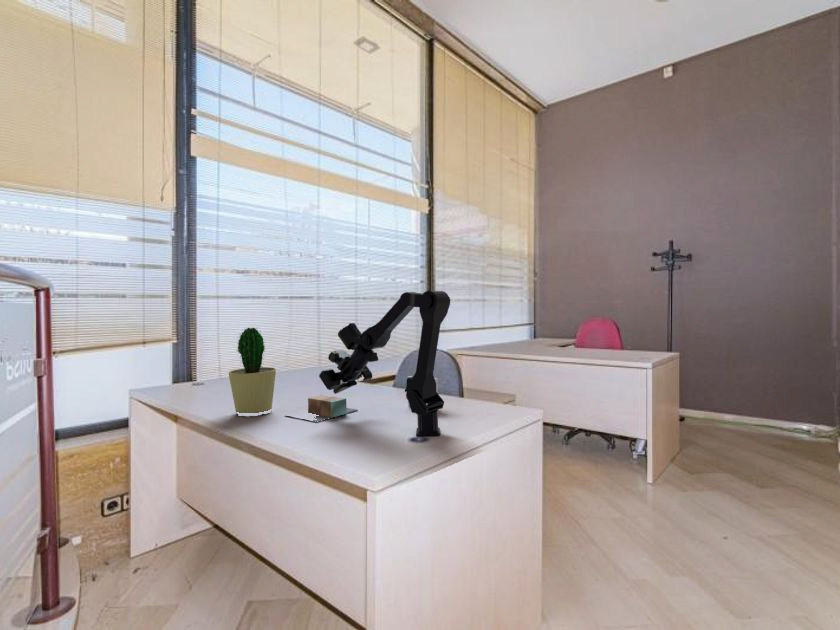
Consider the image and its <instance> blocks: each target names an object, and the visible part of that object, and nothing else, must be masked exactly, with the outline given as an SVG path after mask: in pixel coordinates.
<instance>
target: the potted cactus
mask: <svg viewBox="0 0 840 630" xmlns="http://www.w3.org/2000/svg"><path fill="white" fill-rule="evenodd" d="M237 341H238V342H237V346H236V347H237V348H236V352H237V353H238V354H240V356H239V358H240V360H239V361H240V362H239V363H241V364H242V366H243V368H238V369H233V370H230V371H228V372H227V373H228V378H229V383H230V388H231V393H232V399H233V404H234V410H235V413H236V412H239V413H259V412H264V411H268V410H270V409H273V399H274V392H275V382H276V374H277V373H276V372H277V368H276V367H269V366H268V367H267V366H264V367H263V366H262V364H264V362H263V361H264V358H263V356H264V353H266V349H267V348H265V347H266V345H265V341H264V336H263V335H262V333H261V331H259V330H258V329H257V328H255V327H253V326H252V327H248V328H247V327H245V328H243V331H242V330H241V334H240V335H238V339H237Z"/></svg>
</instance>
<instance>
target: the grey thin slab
mask: <svg viewBox="0 0 840 630" xmlns="http://www.w3.org/2000/svg"><path fill="white" fill-rule="evenodd" d="M354 411H356V412H358V411H359V409H357V408H356V409H355V408H349V407H347V413H349V414H352V413H355V412H354ZM351 412H352V413H351ZM314 418H315V417H314ZM328 418H331V419H333V418H332V417H327V416H322V415H319V416H316V418H315V419H317V420H313V421H316V422H317V421H321V420H324V419H328ZM328 420H329V419H328ZM321 422H322V421H321Z"/></svg>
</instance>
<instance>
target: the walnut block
mask: <svg viewBox="0 0 840 630" xmlns="http://www.w3.org/2000/svg"><path fill="white" fill-rule="evenodd" d="M307 407H308V408H307V409H308V413H312V414H316V415H322V416H327V417H332V418H331V419H334V418H333V417H335V418H338V417H341V416H340V415H342V416H345V415H348V414H347V408H348V407H347V398H345V397H338V396H331V395H325V394H324V395H323V394H321V395H316V396H315V395H314V396H312V397H308V398H307ZM344 414H345V415H344ZM337 416H338V417H337Z"/></svg>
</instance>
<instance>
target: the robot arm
mask: <svg viewBox="0 0 840 630" xmlns="http://www.w3.org/2000/svg"><path fill="white" fill-rule="evenodd" d="M450 306H451V297H450V296H449V294H448V293H447V292H446V291H443V290H426V291H424V292H423V293H420V292H415V291H405V292H403V293H401V295H400V297H399V298H398V300H397V301H396V302H395V303H394V304H393V305H392V307H391V308H390V309H389V310H387V312H386V313H385V314H384V316H383V317H382V318H381V319H380V320H379V321H378V322H376V323H375V324H373V325H371V326H369V327H368V328H366V329H365V330H364V331H362V332H361V331H360V330H359V328H358V327H357V325H356V323H354V322H352V323H351V322H350V323H348V325H346V326H345V327H342V328H341V329H340V330H339V331H338V333H337V336H338V338H339V340H340V341H341V342H342V344H343V345H344V346H345V348H346V349H347V350H350V351H351V350H352V352H351V353H348V352H347V351H346V350H344V349H337V350H333V351H330V353H329V354H328V357H327V359H328V361H330V362H331V363H335V364H336V366H337V367H336V368H337V369H338V371H337V372H336V371H335V370H334V369H332V368H331V369H323V370H321V372H320V373H319V374H318V377H319V379H320V381H321V382H322V383H323V385H324V386H325V388H326V389H327V390H329V391H331V390H332V392H333V393H334V395H336V394H337V395H338V394H339V393H341V392H343V391H345V390H348V389H350V388H352V387H354V386H357V385H358V382H357V381H358V380H359V379H361V378H363V379H362V382H364V383H367V382H370V381H372V379H373V372H372V371H371V370H370V368H369V367H368V363H374V362H378V361H379V356H378V353H377V352H376V351H375V350H376V349H382V348H385V347H386V345H387V343H389V341H390V339H391V336H392V332H393V331H394V329H396V327H397V326H398V325H400V323H401V322H402V321H403V320H404V319H405V318H406V316H408V314H410V313H411V311H412V310H413V309H414V308H419V309H418V311H419V314H420V318H421V321H422V326H421V335H420V339H419V340H420V341H419V347H418V352H417V353H418V355H417V360H416V361H417V362H416V368H415V373H414V374H413V375H411V376H412V377H408V376H407V378H406V386H405V388H404V393H405V396H406V397H405V398H406V399H407V403H408V402H409V405H410V407H409V408H410V412H411V413H412V414H415V415H416V416H417V417H416V418H417V427H416V431H415V436H417V437H423V436H424V437H425V436H427V437H428V436H429V437H431V436H433V437H434V436H435V437H436V436H440V435H441V431H440V430H441V428H440V427H439V410H442V409H443V408H444V404H445V401H444V400H443V398H442V397H441V396H440V395H439V392H438V393H437V392H436V381H435V379H434V378H435V376H434V372H435V371H434V369H435V365H436V357H437V350H438V344H439V337H440V331H441V325H442V323H443V321H444V319H445V318H446V317H447V314H448V312H449V308H450ZM426 404H428V405H426ZM438 409H439V410H438Z"/></svg>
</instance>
